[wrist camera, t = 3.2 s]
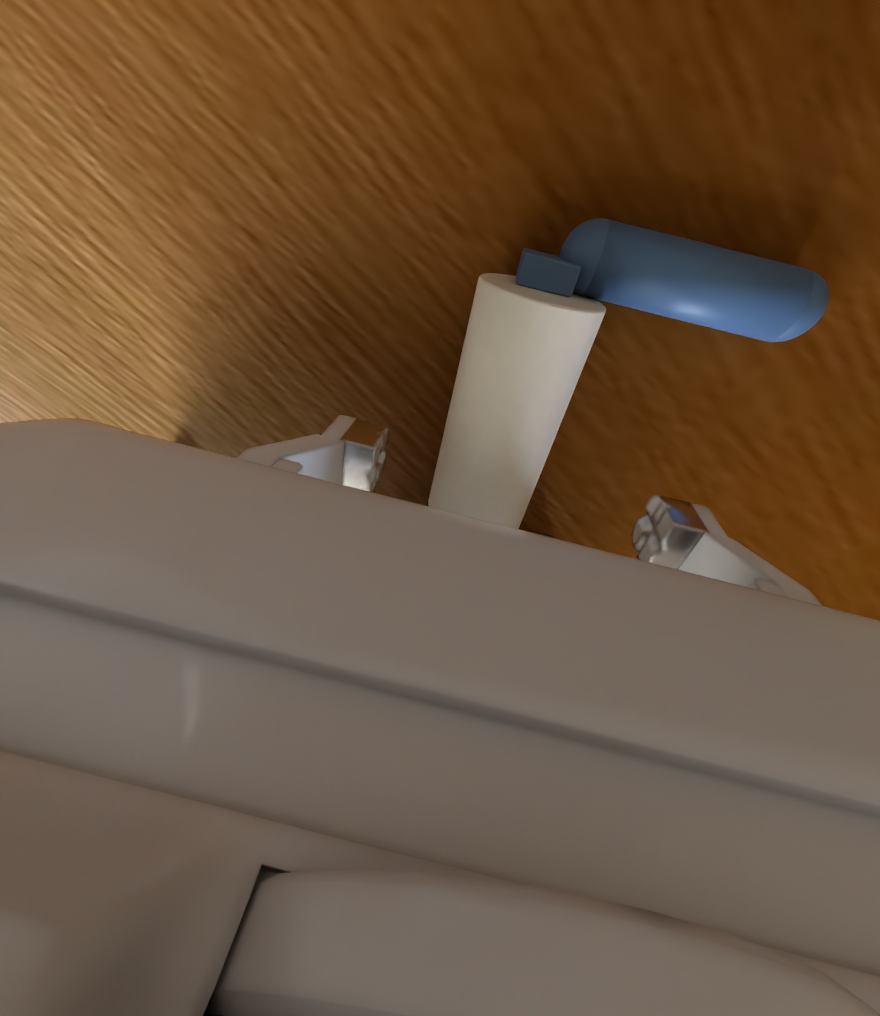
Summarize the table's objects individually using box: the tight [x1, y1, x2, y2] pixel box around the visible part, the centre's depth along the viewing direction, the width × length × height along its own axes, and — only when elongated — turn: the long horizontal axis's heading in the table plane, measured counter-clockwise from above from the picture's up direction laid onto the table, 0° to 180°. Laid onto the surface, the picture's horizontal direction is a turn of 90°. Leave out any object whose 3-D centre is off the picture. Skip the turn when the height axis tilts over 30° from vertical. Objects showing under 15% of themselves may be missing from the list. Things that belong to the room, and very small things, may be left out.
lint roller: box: [428, 218, 829, 529], centre depth 17 cm, size 12×12×5 cm
